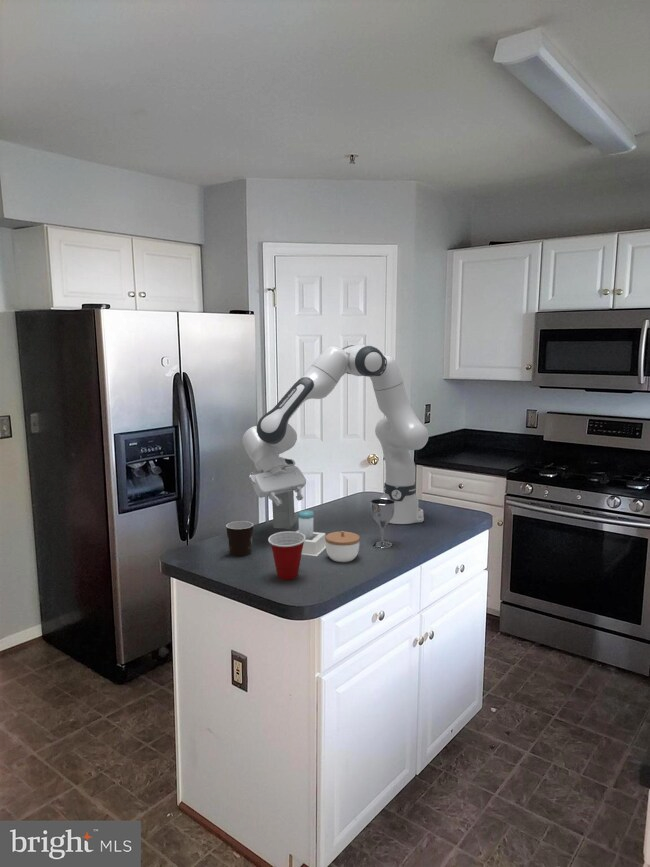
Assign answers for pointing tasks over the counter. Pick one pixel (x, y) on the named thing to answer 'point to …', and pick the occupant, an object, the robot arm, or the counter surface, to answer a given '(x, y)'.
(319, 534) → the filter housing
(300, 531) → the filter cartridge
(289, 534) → the plastic cup
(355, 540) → the lidded jar
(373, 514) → the wine glass
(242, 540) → the coffee mug
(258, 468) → the robot arm
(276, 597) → the counter surface
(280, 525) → the skincare box
